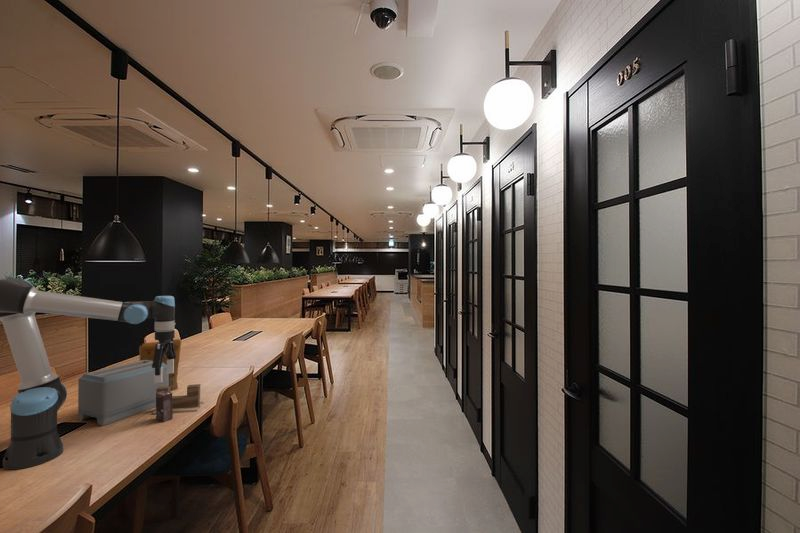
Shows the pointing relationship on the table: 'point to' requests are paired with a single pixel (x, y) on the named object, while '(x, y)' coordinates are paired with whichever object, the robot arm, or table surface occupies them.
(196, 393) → the wooden u-shaped block
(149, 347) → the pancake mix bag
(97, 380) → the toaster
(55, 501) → the table surface
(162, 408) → the box
